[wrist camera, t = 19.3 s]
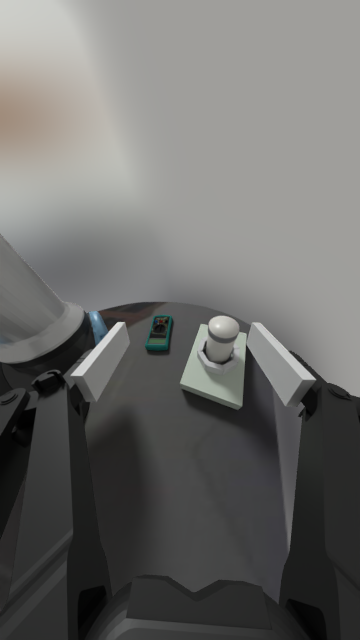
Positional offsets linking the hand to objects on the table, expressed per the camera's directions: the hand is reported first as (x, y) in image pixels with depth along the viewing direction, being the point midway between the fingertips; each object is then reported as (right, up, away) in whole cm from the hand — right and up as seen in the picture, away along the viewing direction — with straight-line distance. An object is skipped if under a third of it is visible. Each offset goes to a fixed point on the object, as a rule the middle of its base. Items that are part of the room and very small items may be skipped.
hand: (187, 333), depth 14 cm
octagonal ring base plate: (+10, -11, +25) cm, 29 cm away
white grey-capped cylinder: (+9, -8, +22) cm, 25 cm away
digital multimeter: (-8, -4, +35) cm, 36 cm away
